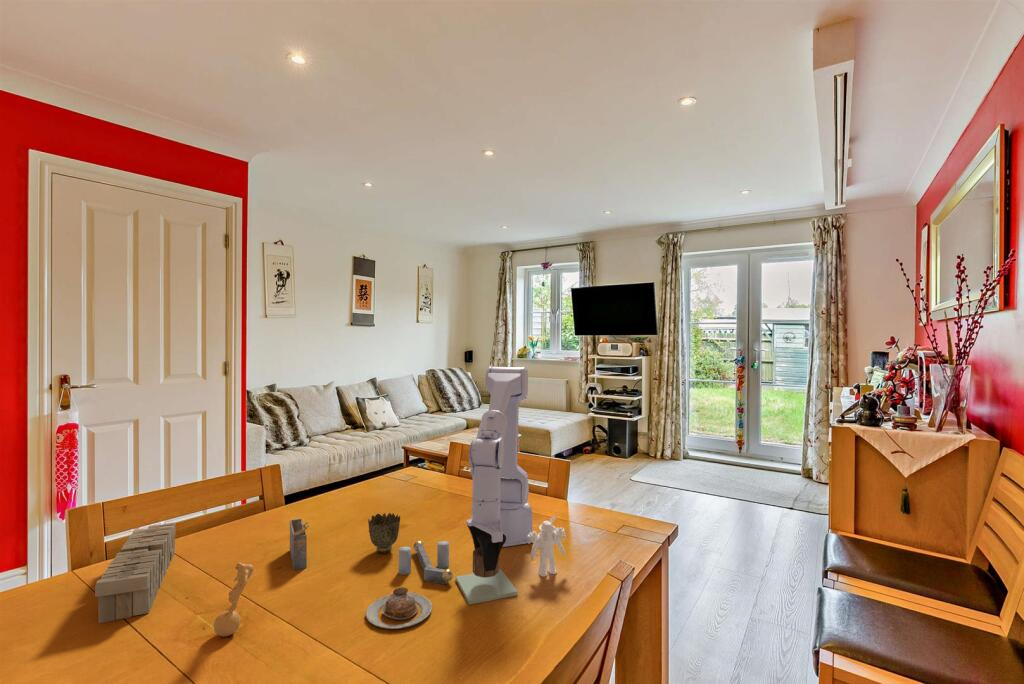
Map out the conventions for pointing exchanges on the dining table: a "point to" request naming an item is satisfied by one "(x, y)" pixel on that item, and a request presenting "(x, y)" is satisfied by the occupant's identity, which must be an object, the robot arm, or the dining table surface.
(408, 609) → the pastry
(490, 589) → the pad
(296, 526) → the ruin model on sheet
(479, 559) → the napkin ring
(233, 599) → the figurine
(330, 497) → the dining table surface
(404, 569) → the grey rounded cylinder
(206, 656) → the dining table surface
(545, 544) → the hat wearing toy figure
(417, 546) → the rail
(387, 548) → the cup
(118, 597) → the block tower
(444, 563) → the post inner
